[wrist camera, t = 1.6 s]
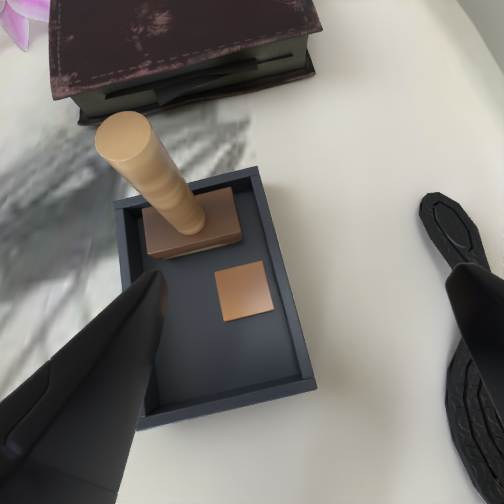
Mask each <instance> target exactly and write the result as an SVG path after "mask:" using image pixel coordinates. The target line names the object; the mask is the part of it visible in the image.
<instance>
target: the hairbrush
mask: <svg viewBox="0 0 504 504" xmlns="http://www.w3.org/2000/svg"><path fill="white" fill-rule="evenodd" d="M433 205H435V206H434V207H433V208H432V206H433ZM419 216H420V218H421V220H422V222H423V224H424V226H425V228H426V231H427V233H428V235H429V237H430V239H431V240H432V241H433V243H434V244H435V246H436V247H437V248H438V250H439V251H440V253H441V254H442V255H443V257H444V258H445V260H446V261H447V262H448V264H449V265H450V267H451V268H452V270H453V269H454V267H455V266H456V265H457V264H458V263H475V264H477V265H479V266H481V267H482V268H484V269H486V270H488V271H489V272H491V270H490V267H489V264H488V262H487V258H486V255H485V252H484V248H483V245H482V242H481V238H480V235H479V232H478V229H477V227H476V225H475V224H474V223H473V221H472V220H471V219H470V218H469V216H468V215H467V214H466V212H465V211H464V210H463V208H462V207H461V206H460V204H459V203H457V202H455V201H454V200H452V199H450V198H448V197H447V196H445V195H443V194H441V193H440V192H435V193H427V194H426V195H425V196H424V197H423V199H422V201H421V204H420V210H419ZM445 406H446V411H447V416H448V421H449V426H450V430H451V435H452V440H453V442H454V445H455V447H456V449H457V451H458V453H459V455H460V457H461V460H462V462H463V464H464V466H465V468H466V470H467V472H468V475H469V477H470V479H471V481H472V483H473V485H474V487H475V488H476V489H477V491H478V492H479V493H480V495H481V496H482V497H483V499H484V500H485V501H486V503H487V504H504V427H503V424H502V422H501V420H500V418H499V416H498V414H497V412H496V409H495V407H494V405H493V403H492V401H491V399H490V396H489V394H488V392H487V390H486V388H485V386H484V383H483V381H482V379H481V377H480V375H479V373H478V371H477V368H476V366H475V364H474V362H473V360H472V358H471V355H470V353H469V351H468V349H467V347H466V345H465V342H464V340H463V338H461V340H460V343H459V345H458V347H457V349H456V351H455V354H454V356H453V358H452V360H451V362H450V365H449V367H448V371H447V385H446V398H445ZM493 477H494V478H495V480H496V481H497V482H498V484H499V485H500V486H501V487H500V486H499V485H498V484H497V483H496V482H495V480H494V478H493Z"/></svg>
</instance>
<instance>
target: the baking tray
mask: <svg viewBox="0 0 504 504" xmlns="http://www.w3.org/2000/svg"><path fill="white" fill-rule="evenodd" d="M187 184H188V186H189V187H190V189H191V191H192V192H193V194H194V196H196V195H200V194H204V193H208V192H212V191H216V190H220V189H224V188H228V187H231V189H232V192H233V195H234V199H235V203H236V207H237V211H238V216H239V220H240V224H241V228H242V233H243V237H244V238H243V239H242V241H241V242H237V243H233V244H229V245H225V246H221V247H216V248H212V249H208V250H204V251H200V252H196V253H192V254H188V255H184V256H180V257H176V258H172V259H168V260H163V259H158V260H157V259H155V258H153V257H152V256H150V255H148V252H147V244H146V237H145V229H144V221H143V213H142V209H143V208H147V207H151V206H152V205H151V204H150V203H149V202H148V201H147V200H146V199H145V198H144V197H143V196H142V195H138V196H134V197H130V198H126V199H122V200H118V201H114V202H113V203H114V210H115V211H114V212H115V222H116V232H117V242H118V252H119V262H120V272H121V282H122V292H124V291H125V290H126V289H127V288H128V287H129V286H130V285H131V284H132V283H133V282H134V281H136V280H137V279H138V278H139V277H140V276H141V275H142V274H143V273H144V272H146V271H147V270H160V271H161V272H162V274H163V276H164V279H165V281H166V283H167V286H168V298H167V304H166V311H165V317H164V323H163V330H162V335H161V339H160V343H159V347H158V351H157V354H156V358H155V361H154V365H153V369H152V372H151V376H150V379H149V383H148V387H147V390H146V394H145V397H144V401H143V405H142V408H141V412H140V415H139V419H138V423H137V426H136V431H137V432H139V431H143V430H147V429H151V428H156V427H160V426H164V425H168V424H173V423H177V422H181V421H185V420H190V419H194V418H198V417H202V416H207V415H211V414H215V413H219V412H224V411H228V410H232V409H236V408H240V407H245V406H249V405H253V404H257V403H262V402H266V401H270V400H274V399H279V398H283V397H287V396H291V395H296V394H300V393H304V392H308V391H313V390H316V389H317V385H316V381H315V378H314V373H313V370H312V366H311V362H310V359H309V355H308V351H307V348H306V344H305V340H304V336H303V333H302V329H301V325H300V322H299V318H298V314H297V311H296V307H295V303H294V300H293V296H292V292H291V288H290V285H289V281H288V277H287V274H286V270H285V266H284V263H283V259H282V255H281V252H280V248H279V244H278V240H277V237H276V233H275V229H274V226H273V222H272V218H271V215H270V211H269V207H268V204H267V200H266V196H265V192H264V189H263V185H262V181H261V178H260V175H259V170H258V166H254V167H250V168H246V169H242V170H238V171H234V172H230V173H226V174H222V175H218V176H214V177H210V178H206V179H202V180H198V181H194V182H190V183H187ZM261 260H262V261H263V265H264V269H265V273H266V277H267V281H268V285H269V289H270V293H271V297H272V301H273V305H274V311H271V312H267V313H262V314H258V315H254V316H250V317H246V318H242V319H238V320H233V321H229V322H224V319H223V314H222V309H221V304H220V299H219V294H218V289H217V284H216V279H215V273H214V272H217V271H221V270H225V269H229V268H233V267H237V266H241V265H245V264H249V263H253V262H257V261H261Z"/></svg>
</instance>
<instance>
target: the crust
mask: <svg viewBox="0 0 504 504" xmlns="http://www.w3.org/2000/svg"><path fill="white" fill-rule="evenodd" d="M214 273H215V279H216V284H217V289H218V294H219V299H220V304H221V309H222V314H223V319H224V322H229V321H233V320H238V319H242V318H246V317H250V316H254V315H258V314H262V313H267V312H271V311H274V305H273V301H272V297H271V293H270V289H269V285H268V281H267V277H266V273H265V269H264V265H263V261H262V260H261V261H257V262H253V263H249V264H245V265H241V266H237V267H233V268H229V269H225V270H221V271H217V272H214Z"/></svg>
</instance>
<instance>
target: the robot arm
mask: <svg viewBox="0 0 504 504" xmlns="http://www.w3.org/2000/svg"><path fill="white" fill-rule="evenodd" d="M445 288H446V291H447V295H448V298H449V301H450V304H451V307H452V310H453V313H454V316H455V319H456V322H457V325H458V328H459V330H460V333H461V336H462V338H463V340H464V342H465V345H466V347H467V349H468V351H469V353H470V355H471V358H472V360H473V362H474V364H475V366H476V368H477V371H478V373H479V375H480V377H481V379H482V381H483V383H484V386H485V388H486V390H487V392H488V394H489V396H490V399H491V401H492V403H493V405H494V407H495V409H496V412H497V414H498V416H499V418H500V420H501V422H502V424H503V427H504V280H503V279H501V278H499V277H498V276H496V275H494V274H493V273H491V272H489V271H488V270H486V269H484V268H482V267H481V266H479V265H477V264H475V263H458V264H457V265H456V266H455V267H454V269H453V270H452V272H451V274H450V275H449V277H448V278H447V280H446V283H445ZM167 298H168V286H167V283H166V281H165V279H164V276H163V274H162V272H161V271H160V270H147V271H146V272H144V273H143V274H142V275H141V276H140V277H139V278H138V279H137V280H136V281H134V282H133V283H132V284H131V285H130V286H129V287H128V288H127V289H126V290H125V291H124V292H122V293H121V294H120V295H119V296H118V297H117V298H116V299H115V300H114V301H113V302H112V303H110V304H109V305H108V306H107V307H106V308H105V309H104V310H103V311H102V312H101V313H99V314H98V315H97V316H96V317H95V318H94V319H93V320H92V321H91V322H90V323H89V324H87V325H86V326H85V327H84V328H83V329H82V330H81V331H80V332H79V333H78V334H77V335H75V336H74V337H73V338H72V339H71V340H70V341H69V342H68V343H67V344H66V345H64V346H63V347H62V348H61V349H60V350H59V351H58V352H57V353H56V354H55V355H54V356H52V357H51V359H50V360H48V361H47V362H46V363H45V364H44V365H42V366H41V367H40V368H39V369H38V370H37V371H36V372H35V373H34V374H33V375H31V376H30V377H29V378H28V379H27V380H26V381H25V382H23V383H22V384H21V385H20V386H19V387H18V388H17V389H16V390H14V391H13V392H12V393H11V394H10V395H8V396H7V397H6V398H5V399H4V400H2V401H1V402H0V504H115V503H116V499H117V495H118V493H117V492H118V491H119V487H120V484H121V480H122V477H123V473H124V469H125V466H126V462H127V459H128V455H129V451H130V448H131V444H132V441H133V437H134V433H135V430H136V426H137V423H138V419H139V415H140V412H141V408H142V405H143V401H144V397H145V394H146V390H147V387H148V383H149V379H150V376H151V372H152V369H153V365H154V361H155V358H156V354H157V351H158V347H159V343H160V339H161V335H162V330H163V323H164V317H165V311H166V304H167Z"/></svg>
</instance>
